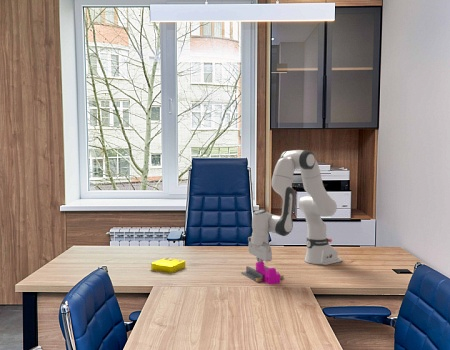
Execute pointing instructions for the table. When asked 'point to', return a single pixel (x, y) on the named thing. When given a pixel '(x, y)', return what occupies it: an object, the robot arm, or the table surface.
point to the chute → (256, 274)
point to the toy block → (268, 273)
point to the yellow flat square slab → (168, 265)
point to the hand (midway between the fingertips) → (260, 265)
